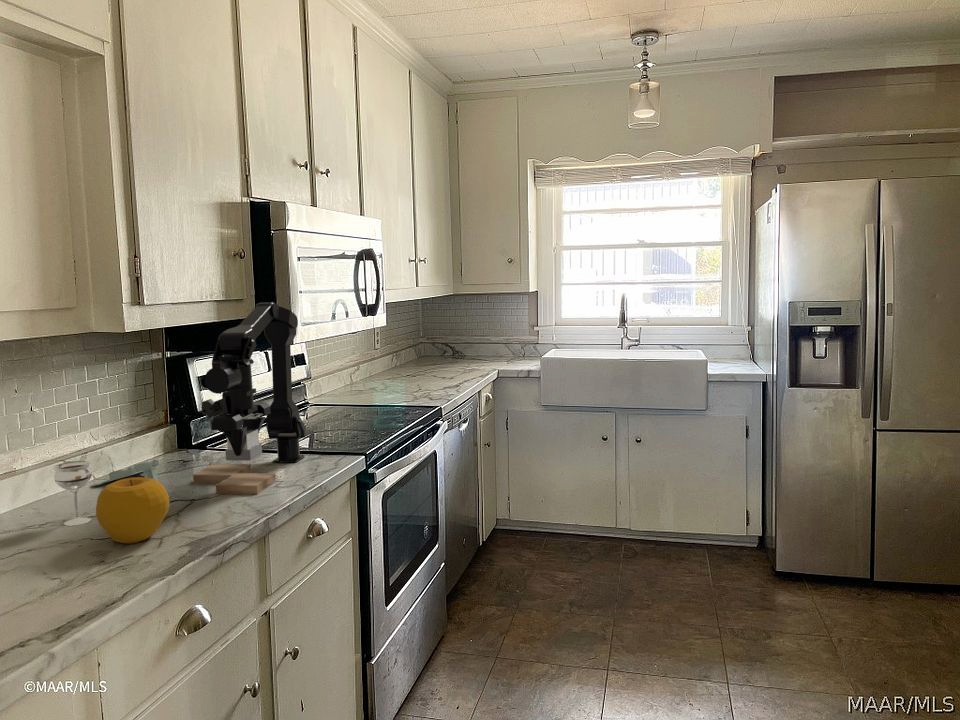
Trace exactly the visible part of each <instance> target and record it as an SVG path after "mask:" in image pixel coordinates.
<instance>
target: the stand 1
mask: <svg viewBox="0 0 960 720" xmlns="http://www.w3.org/2000/svg"><path fill="white" fill-rule="evenodd" d="M235 473H252V464H250V463H245V464H243V463H239V464H238V463H213V464H211V465H209V466H207V467H206V468H203V469H202V470H199V471H197V472H196V473H194V474H192V479H193V484H218V483H220V482H222V481H223V480H225V479H227V478H228V477H230V476H232V475H233V474H235Z"/></svg>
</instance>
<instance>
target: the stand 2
mask: <svg viewBox="0 0 960 720" xmlns="http://www.w3.org/2000/svg"><path fill="white" fill-rule="evenodd" d="M276 478H277V477H276V473H274V472H271V473H268V472H266V473H265V472H264V473H262V472H261V473H259V472H251V473H235V474H233V475H232V476H230V477H228V478H227V479H225V480H223V481H222V482H220V483H215V493H216V494H225V495H230V494H231V495H232V494H233V495H236V494H237V495H258V494H260V493H262V492H263V491H264V490H266V489H267V488H268V487H270V486H271V485H273V484H275V483H276V482H277V481H276V480H277V479H276Z"/></svg>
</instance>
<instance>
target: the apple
mask: <svg viewBox="0 0 960 720" xmlns="http://www.w3.org/2000/svg"><path fill="white" fill-rule="evenodd" d="M170 502H171V501H170V496H169V494H168V491H167V489H166V487H165V486H164V485H163V484H162V483H161V482H160V480H159V481H157V480H156V479H151V478H145V477H143V476H140V477H139V476H137V477H133V476H132V477H127V478H126V477H125V478H121V479H117V480H116V481H114V482H111V483H109V484H107V485H105V487H104V488H103V489H102V490H101V491H100V493H98V496H97V499H96V506H95V515H96V519H97V521H98V523H99V524H98V525H100V527H101V528H102V530H104V532H105V533H106V534H107V536H108V537H109V538H110V539H111V540H113V541H114V542H117V543H120V544H129V545H130V544H136V543H139V542H142V541H145V540H146V539H148V538H149V537H151V536H153V535H154V534H155V533H157V531H158V530H159V528H160V526H161V524H162V523H163V522H164V519H165V517H166V515H167V514H168V512H169V508H170Z"/></svg>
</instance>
